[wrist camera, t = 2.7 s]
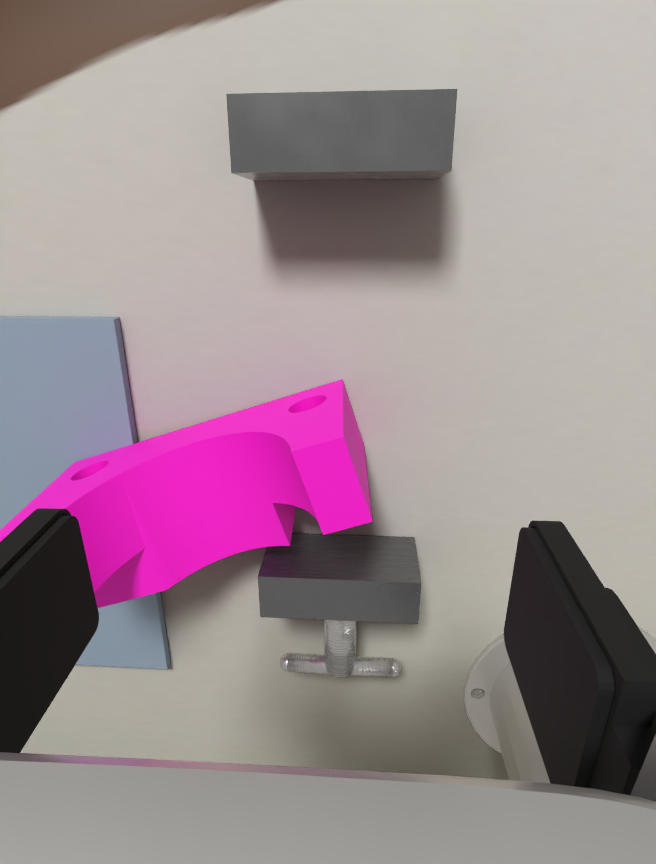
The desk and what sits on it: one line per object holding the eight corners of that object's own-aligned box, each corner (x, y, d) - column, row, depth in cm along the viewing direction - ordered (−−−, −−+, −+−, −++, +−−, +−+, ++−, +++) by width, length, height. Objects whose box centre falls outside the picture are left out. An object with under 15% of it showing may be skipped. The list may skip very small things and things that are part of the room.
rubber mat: (118, 317, 26) (113, 319, 25) (170, 662, 34) (167, 669, 34) (-149, 315, 27) (-160, 317, 26) (-37, 651, 35) (-43, 658, 34)
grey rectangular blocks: (442, 111, 22) (457, 89, 18) (407, 649, 32) (412, 704, 29) (249, 114, 22) (226, 94, 19) (277, 643, 33) (265, 696, 29)
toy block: (126, 556, 30) (62, 656, 23) (74, 462, 28) (-13, 541, 21) (377, 486, 28) (389, 572, 21) (342, 379, 26) (343, 436, 19)
